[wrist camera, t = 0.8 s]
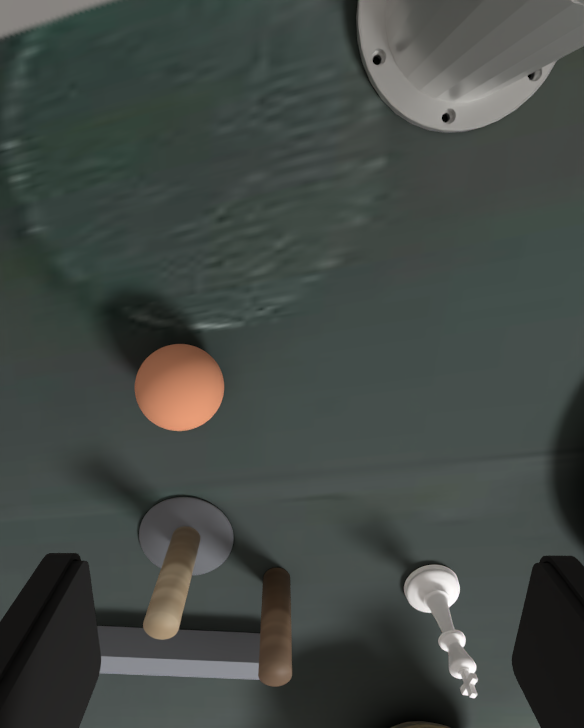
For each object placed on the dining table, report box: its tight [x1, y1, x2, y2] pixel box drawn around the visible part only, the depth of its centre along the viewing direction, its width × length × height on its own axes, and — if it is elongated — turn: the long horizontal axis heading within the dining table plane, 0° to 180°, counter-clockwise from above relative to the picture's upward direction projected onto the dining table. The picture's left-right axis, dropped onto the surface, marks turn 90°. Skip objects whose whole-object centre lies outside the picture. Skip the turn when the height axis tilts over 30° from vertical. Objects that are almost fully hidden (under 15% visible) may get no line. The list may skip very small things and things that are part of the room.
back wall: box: [97, 626, 260, 680], centre depth 42 cm, size 2×18×3 cm, turn 85°
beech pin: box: [143, 526, 200, 640], centre depth 36 cm, size 2×2×9 cm
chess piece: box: [404, 564, 478, 698], centre depth 38 cm, size 5×5×10 cm
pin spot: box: [139, 497, 234, 576], centre depth 40 cm, size 8×8×1 cm
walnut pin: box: [258, 568, 292, 687], centre depth 38 cm, size 2×2×9 cm
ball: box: [135, 344, 224, 431], centre depth 32 cm, size 6×6×6 cm
